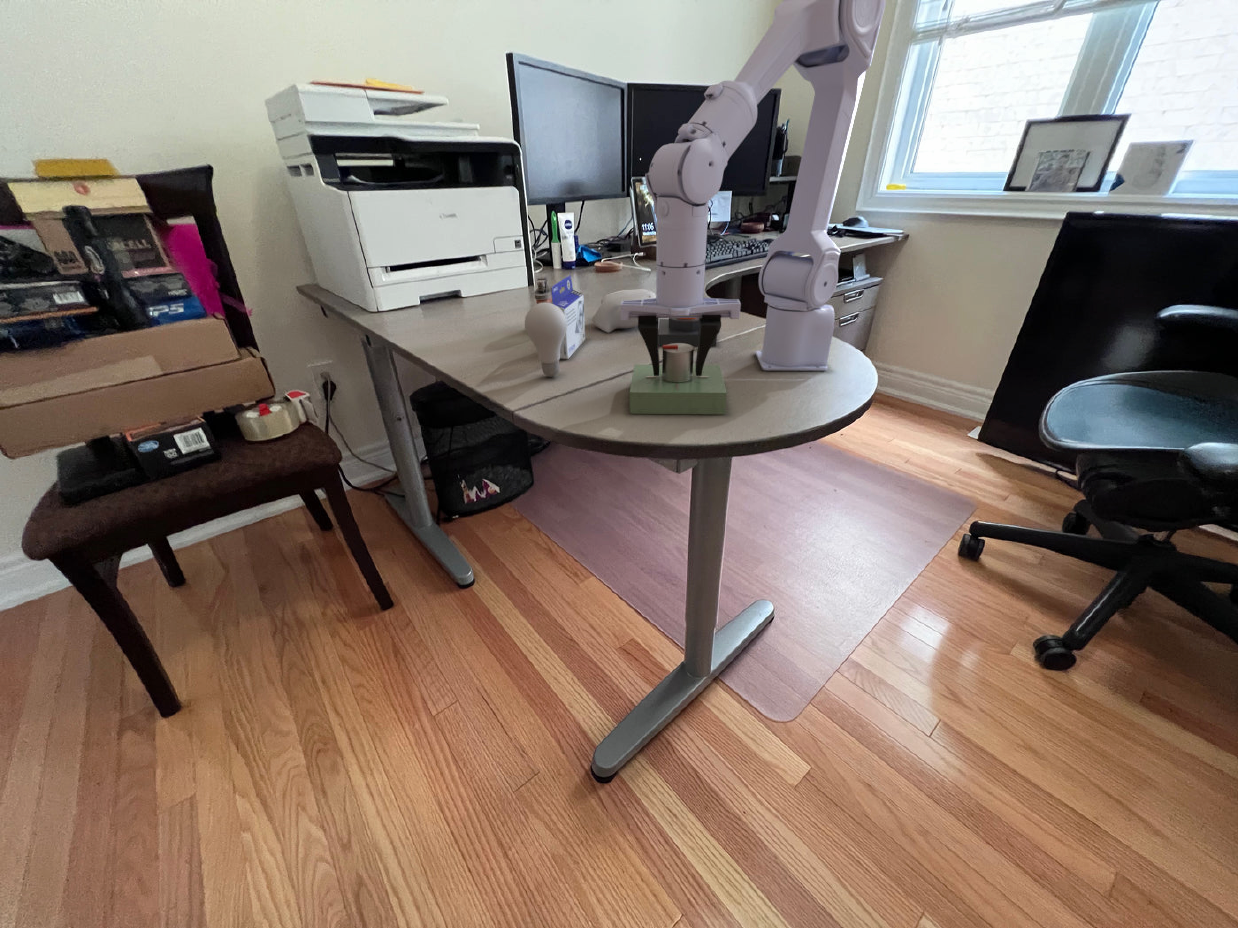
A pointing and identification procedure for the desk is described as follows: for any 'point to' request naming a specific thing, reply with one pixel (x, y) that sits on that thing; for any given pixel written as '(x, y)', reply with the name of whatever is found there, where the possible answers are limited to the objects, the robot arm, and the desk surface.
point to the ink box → (570, 315)
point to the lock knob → (677, 362)
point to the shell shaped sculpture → (618, 309)
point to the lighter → (543, 290)
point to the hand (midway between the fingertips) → (677, 373)
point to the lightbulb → (547, 334)
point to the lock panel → (677, 392)
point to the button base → (679, 331)
